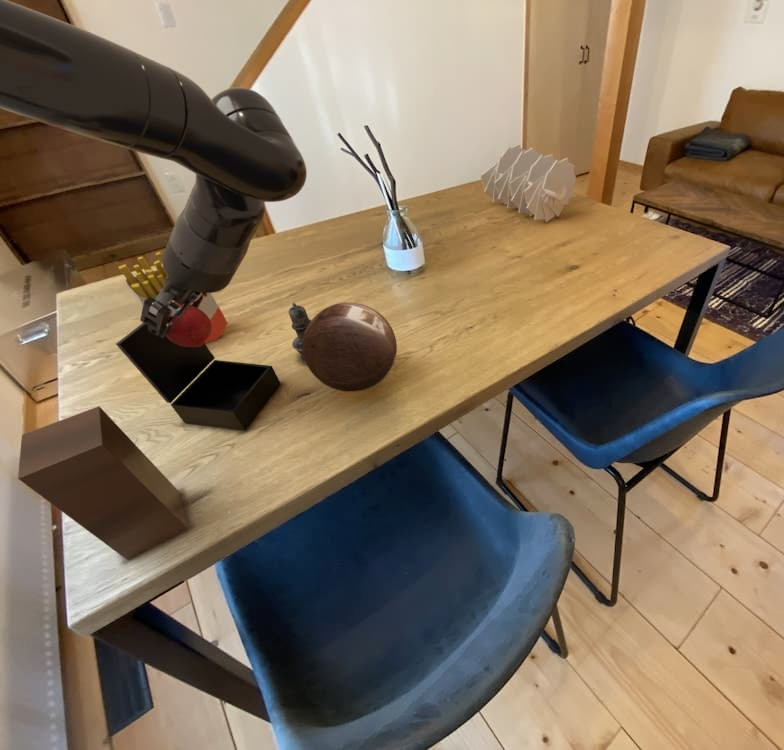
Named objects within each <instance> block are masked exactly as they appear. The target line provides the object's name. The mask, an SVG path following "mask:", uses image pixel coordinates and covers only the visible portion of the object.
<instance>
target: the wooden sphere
mask: <svg viewBox="0 0 784 750" xmlns="http://www.w3.org/2000/svg"><path fill="white" fill-rule="evenodd" d="M310 320H311V322H310V323H309V325H308V327H307V329H306V331H305V334H304V338H303V354H304V358H305V361H306V364H305V365H306V366H307V368H308V369H309V372H310V373H311V374H312V375H313V376H314V377H315V379H317V380H318V381H319V382H320V383H322V384H323V385H325V386H327V387H329V388H331V389H333V390H336V391H341V392H348V393H349V392H350V393H351V392H361V391H364V390H368V389H371V388H372V387H374V386H376V385H378V384H379V383H381V382H382V380H384V379H385V378H386V377H387V376H388V374H389V373H390V371H391V370H392V368H393V366H394V364H395V362H396V358H397V351H398V345H397V338H396V335H395V332H394V330H393V328H392V325H391V324H390V323H389V322H388V320H387V319H386V318H385V317H384V315H382V314H381V313H380V312H379V311H378V310H376V309H374V308H372V307H370V306H368V305H366V304H363V303H358V302H340V303H339V302H338V303H336V304H332V305H330V306H328V307H325V308H323V309H322V310H321V311H319V312H318V313H317V314H316V315H315V316H314V317H313V318H312V319H310Z"/></svg>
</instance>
